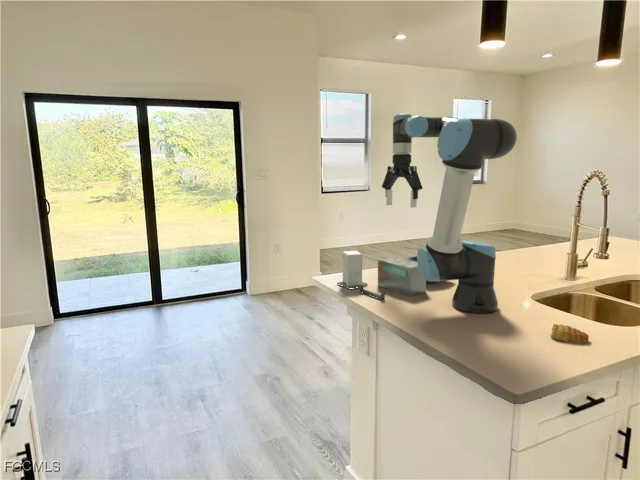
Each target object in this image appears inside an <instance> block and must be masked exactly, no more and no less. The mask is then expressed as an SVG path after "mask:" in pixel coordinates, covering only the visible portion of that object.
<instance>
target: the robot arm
mask: <svg viewBox="0 0 640 480" xmlns="http://www.w3.org/2000/svg"><path fill="white" fill-rule="evenodd" d="M517 137H518V136H517V131H516V129H515V127H514V126H513V124H511V123H510V122H509V121H507V120H504V119H500V118H466V117H463V118H458V117H452V116H445V117H443V116H438V117H437V116H436V117H435V116H434V117H433V116H432V117H431V116H427V117H426V116H423V115H412V114H411V113H399V114H395V115H393V119H392V153H393V155H392V164H393V165H388V166H387V171H386V174H385V176H384V179H383V183H382V184H381V188H382V189H384V190H385V198H386V200H385V201H386V203H385V204H386V206H392V205H393V189H392V188H393V186H394V184H395V183H396V182H397V180H398V178H403V179H405V180H406V182H407V184H408V186H409V187H410V189H411V191H410V208H411V209H412V208H417V200H418V198H419V192H420V190H423V185H422V182H421V180H420V177H419V173H418V168H417V166H416V165H411V164H412V147H413V146H412V143H413V141H412V139H414V138H438V139H437V144H436V145H437V146H436V147H437V154H438V156H439V158H440V159H442V161H441V163H442V166H444V167H445V170H444V171H445V172H444V176H443V182H442V187H441V193H440V198H439V202H438V208H437V211H436V217H435V222H434V227H433V233H432V236H430V237H428V239H427V240H426V244H425V247H424V246H423V247H420V248H419V249H418V250H417V255H416V256H417V263H418V267H419V271H420V273H421V275H422V276H423V278H424V279H425V280H427V281H434V282H436V283H439V282H445V281H455V280H457V281H458V284H457V286H456V289H455V292H454V294H453V296H452V301H451V302H452V303H451V306H452V307H454V308H455V309H456V310H459V311H463V312H466V313H470V314H471V313H473V314H491V313H494V312H497V311H498V309H499V308H498V307H499V301H498V298H497V294H496V291H495V287H494V283H495V268H496V267H495V266H496V259H497V255H496V247H495V246H494V245H492V244H491V243H487V242H482V241H477V240H469V239H468V240H467V239H466V240H465V239H463V240H460V239H461V235H462V231H463V227H464V222H465V217H466V214H467V208H468V205H469V200H470V196H471V191H472V188H473V185H474V184H473V182H474V179H475V175H476V173H477V172H478V171H480V170H481V169H482V168H483V163H484V160H495V159H500V158H503V157H505V156H507V155H508V154H510V152H511V151H512V150H513V149H514V147H515V145H516V143H517Z"/></svg>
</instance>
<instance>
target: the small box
mask: <svg viewBox="0 0 640 480" xmlns="http://www.w3.org/2000/svg"><path fill="white" fill-rule="evenodd" d="M342 281H343V282H344V283H346V284H347V285H348V286H353V285H362V282H363V254H362V253H360V252H359V251H358V250H344V251H342Z"/></svg>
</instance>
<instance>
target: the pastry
mask: <svg viewBox="0 0 640 480" xmlns="http://www.w3.org/2000/svg"><path fill="white" fill-rule="evenodd" d="M550 338H552V339H554V340H555V341H558V342H559V341H562V342H565V343H573V344H584V343H585V344H587V343H588V342H589V334H588V333H586V332H584V331H581V330H580V329H578V328H575V327H572V326H570V325H564V324H562V323H561V324H556V323H553V325H552V328H551V334H550Z"/></svg>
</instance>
